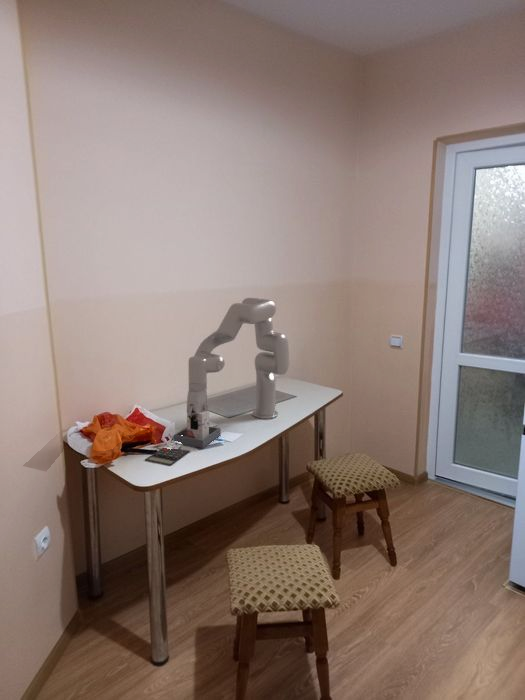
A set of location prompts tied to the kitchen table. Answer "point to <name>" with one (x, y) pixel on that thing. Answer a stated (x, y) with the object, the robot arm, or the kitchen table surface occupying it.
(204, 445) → the desk tray
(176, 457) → the calculator
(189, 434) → the ink cartridge box
